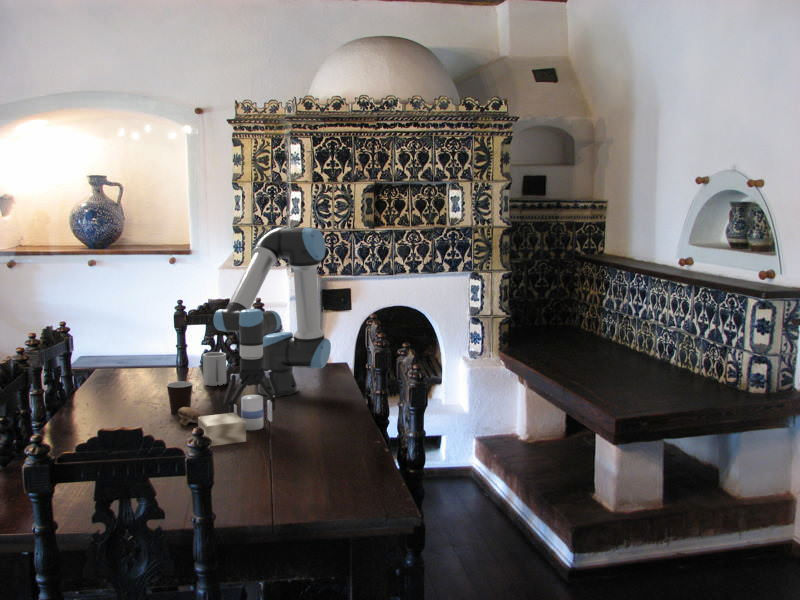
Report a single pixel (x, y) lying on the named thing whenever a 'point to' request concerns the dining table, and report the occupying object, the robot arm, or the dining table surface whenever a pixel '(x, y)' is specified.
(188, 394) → the coffee mug
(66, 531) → the dining table surface
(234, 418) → the birch block
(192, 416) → the mushroom
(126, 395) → the dining table surface
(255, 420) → the white blue-banded canister
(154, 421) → the dining table surface
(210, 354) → the cup
